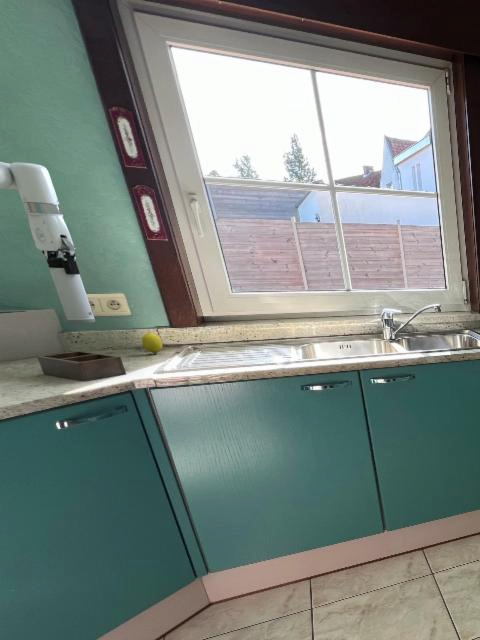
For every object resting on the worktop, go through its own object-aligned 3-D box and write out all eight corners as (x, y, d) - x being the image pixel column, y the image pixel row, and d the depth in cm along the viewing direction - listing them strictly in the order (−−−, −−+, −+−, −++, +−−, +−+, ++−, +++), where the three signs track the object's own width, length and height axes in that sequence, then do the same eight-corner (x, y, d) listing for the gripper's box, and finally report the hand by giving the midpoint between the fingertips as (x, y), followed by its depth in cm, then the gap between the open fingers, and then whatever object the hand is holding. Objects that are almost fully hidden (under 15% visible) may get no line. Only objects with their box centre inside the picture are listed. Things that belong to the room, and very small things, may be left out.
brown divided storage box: (84, 381, 147) (77, 362, 144) (43, 374, 153) (36, 356, 151) (126, 374, 156) (120, 356, 154) (86, 367, 162) (80, 350, 160)
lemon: (149, 356, 181) (142, 334, 178) (143, 354, 184) (136, 332, 181) (167, 353, 185) (161, 332, 182) (161, 352, 188) (155, 331, 185)
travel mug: (101, 322, 160) (79, 256, 153) (74, 324, 155) (50, 256, 147) (90, 320, 163) (69, 256, 155) (64, 322, 157) (40, 255, 150)
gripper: (9, 209, 146) (32, 272, 152) (45, 209, 141) (68, 275, 148) (42, 211, 152) (63, 272, 159) (78, 212, 148) (98, 275, 154)
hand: (65, 273), depth 153 cm, fingers closed on travel mug, 6 cm apart
